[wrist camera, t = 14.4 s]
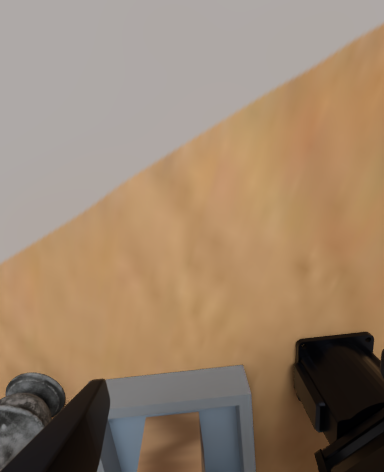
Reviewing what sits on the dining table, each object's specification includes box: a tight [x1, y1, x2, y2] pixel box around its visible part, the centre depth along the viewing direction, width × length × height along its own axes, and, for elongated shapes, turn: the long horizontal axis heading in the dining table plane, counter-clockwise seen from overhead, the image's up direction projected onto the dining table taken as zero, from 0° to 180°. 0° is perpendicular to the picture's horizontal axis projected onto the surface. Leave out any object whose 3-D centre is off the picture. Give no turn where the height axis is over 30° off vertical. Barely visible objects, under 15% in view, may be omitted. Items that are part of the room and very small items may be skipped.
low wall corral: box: [89, 365, 256, 472], centre depth 23 cm, size 14×14×3 cm
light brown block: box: [137, 412, 205, 472], centre depth 22 cm, size 5×5×5 cm
